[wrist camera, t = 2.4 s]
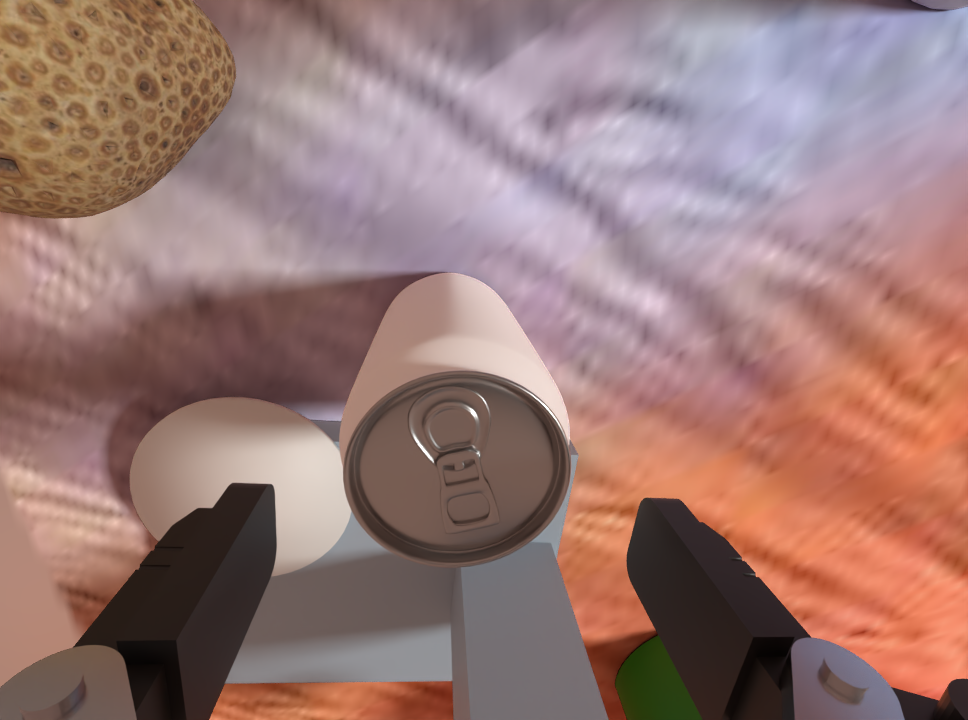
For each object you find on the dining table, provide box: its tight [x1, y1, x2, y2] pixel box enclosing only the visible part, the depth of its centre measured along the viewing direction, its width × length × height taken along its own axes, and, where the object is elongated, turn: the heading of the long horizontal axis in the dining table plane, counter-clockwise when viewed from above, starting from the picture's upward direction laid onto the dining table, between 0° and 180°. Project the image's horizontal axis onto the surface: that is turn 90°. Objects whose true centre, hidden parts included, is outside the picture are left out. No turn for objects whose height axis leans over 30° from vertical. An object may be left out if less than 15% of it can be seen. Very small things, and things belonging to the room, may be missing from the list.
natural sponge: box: [0, 0, 236, 218], centre depth 13 cm, size 9×9×10 cm
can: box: [339, 273, 571, 568], centre depth 17 cm, size 6×6×12 cm
